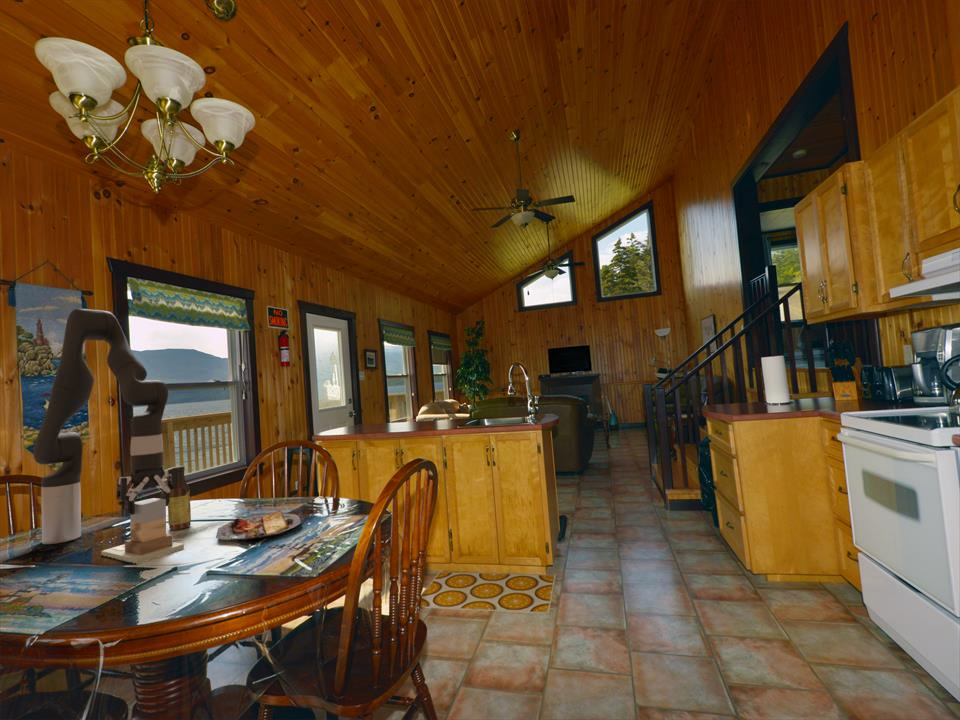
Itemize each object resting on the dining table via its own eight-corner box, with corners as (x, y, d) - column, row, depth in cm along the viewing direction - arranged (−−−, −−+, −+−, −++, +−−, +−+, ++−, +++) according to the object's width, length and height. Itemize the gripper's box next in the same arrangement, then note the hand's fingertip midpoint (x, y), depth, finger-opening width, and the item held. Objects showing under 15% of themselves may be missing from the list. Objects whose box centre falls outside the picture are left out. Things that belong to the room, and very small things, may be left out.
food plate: (219, 526, 153) (219, 515, 154) (296, 515, 163) (296, 505, 164) (214, 552, 131) (213, 539, 131) (303, 537, 141) (303, 525, 141)
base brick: (124, 551, 129) (124, 540, 130) (156, 542, 136) (156, 531, 137) (141, 555, 126) (140, 544, 126) (172, 545, 133) (172, 534, 133)
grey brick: (130, 521, 130) (130, 503, 130) (153, 515, 136) (153, 497, 136) (142, 523, 127) (142, 504, 128) (166, 517, 133) (165, 499, 133)
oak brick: (130, 540, 130) (130, 521, 130) (153, 533, 135) (153, 515, 135) (142, 542, 127) (142, 523, 127) (166, 535, 133) (165, 517, 133)
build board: (101, 555, 131) (101, 550, 131) (148, 541, 142) (148, 536, 142) (136, 563, 123) (136, 558, 123) (184, 548, 134) (183, 543, 134)
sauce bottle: (194, 526, 156) (193, 465, 157) (174, 531, 150) (172, 468, 151) (184, 524, 159) (183, 464, 160) (164, 529, 154) (163, 467, 155)
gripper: (166, 447, 140) (167, 503, 140) (110, 455, 128) (111, 516, 127) (181, 448, 137) (182, 504, 136) (125, 456, 124) (126, 518, 124)
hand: (148, 510), depth 132 cm, fingers open, 8 cm apart
